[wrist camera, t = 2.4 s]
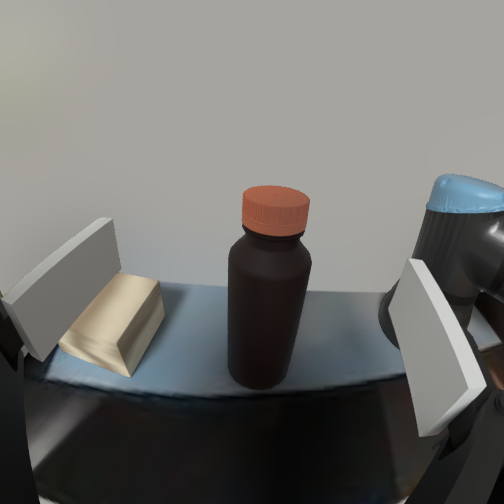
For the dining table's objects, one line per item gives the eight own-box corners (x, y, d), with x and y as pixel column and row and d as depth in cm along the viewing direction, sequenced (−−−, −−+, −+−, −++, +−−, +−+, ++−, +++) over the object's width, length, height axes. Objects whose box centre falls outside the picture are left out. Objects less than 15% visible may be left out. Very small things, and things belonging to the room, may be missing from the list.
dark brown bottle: (229, 393, 27) (231, 211, 17) (226, 346, 33) (228, 180, 23) (292, 388, 28) (336, 214, 18) (281, 344, 34) (307, 183, 24)
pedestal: (165, 315, 37) (159, 280, 34) (130, 377, 27) (116, 343, 24) (101, 300, 38) (91, 266, 35) (62, 350, 28) (44, 316, 25)
